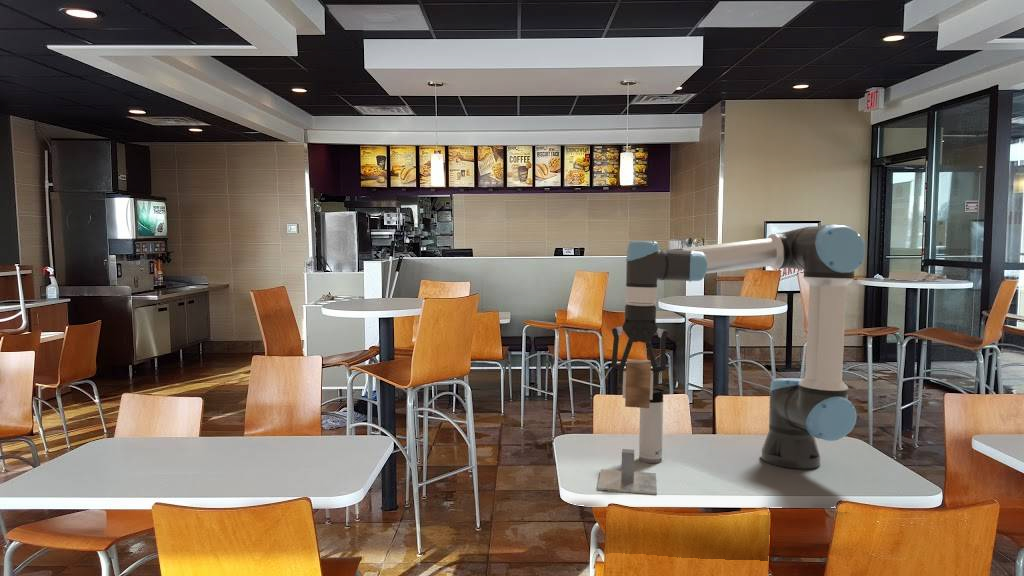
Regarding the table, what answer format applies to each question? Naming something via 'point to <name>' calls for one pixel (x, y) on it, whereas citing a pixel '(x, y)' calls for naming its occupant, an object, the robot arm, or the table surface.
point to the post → (627, 477)
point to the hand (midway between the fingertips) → (637, 397)
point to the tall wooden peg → (638, 383)
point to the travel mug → (652, 429)
